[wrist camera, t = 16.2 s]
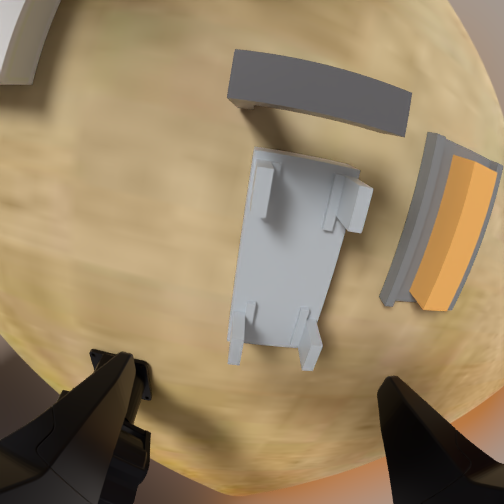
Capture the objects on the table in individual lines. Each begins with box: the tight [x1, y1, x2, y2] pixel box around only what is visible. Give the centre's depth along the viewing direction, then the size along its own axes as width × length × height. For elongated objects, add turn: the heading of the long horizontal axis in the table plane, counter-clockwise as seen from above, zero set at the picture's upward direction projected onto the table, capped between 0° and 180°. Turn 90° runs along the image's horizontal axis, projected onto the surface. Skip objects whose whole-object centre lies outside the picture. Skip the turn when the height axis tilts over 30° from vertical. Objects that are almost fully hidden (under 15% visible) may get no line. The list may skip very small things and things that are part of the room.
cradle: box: [227, 146, 373, 371], centre depth 19 cm, size 14×6×5 cm, turn 172°
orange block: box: [409, 155, 497, 311], centre depth 19 cm, size 12×3×3 cm, turn 171°
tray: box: [379, 132, 503, 310], centre depth 20 cm, size 14×8×1 cm, turn 172°
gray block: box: [227, 49, 412, 137], centre depth 13 cm, size 2×7×8 cm, turn 82°
